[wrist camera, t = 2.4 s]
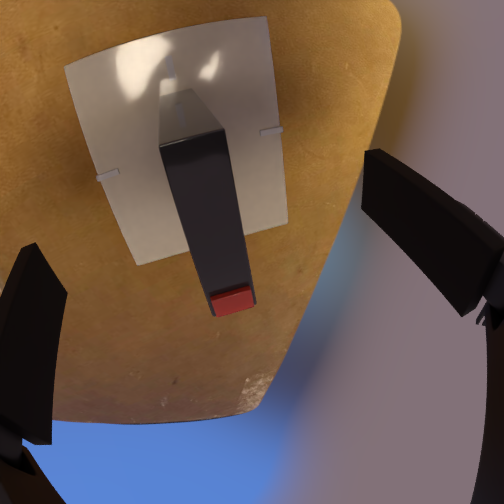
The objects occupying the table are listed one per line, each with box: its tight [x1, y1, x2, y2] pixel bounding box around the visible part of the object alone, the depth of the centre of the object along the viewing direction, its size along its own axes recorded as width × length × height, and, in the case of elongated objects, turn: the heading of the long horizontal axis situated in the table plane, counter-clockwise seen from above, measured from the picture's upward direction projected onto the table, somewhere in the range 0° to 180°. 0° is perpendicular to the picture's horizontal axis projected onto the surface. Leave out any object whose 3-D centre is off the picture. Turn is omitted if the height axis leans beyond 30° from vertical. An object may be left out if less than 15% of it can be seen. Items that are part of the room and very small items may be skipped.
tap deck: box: [64, 16, 288, 266], centre depth 18 cm, size 14×11×3 cm
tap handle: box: [158, 88, 257, 317], centre depth 13 cm, size 7×2×9 cm, turn 8°
